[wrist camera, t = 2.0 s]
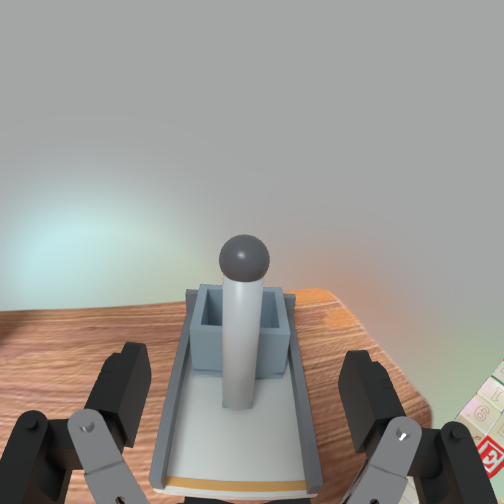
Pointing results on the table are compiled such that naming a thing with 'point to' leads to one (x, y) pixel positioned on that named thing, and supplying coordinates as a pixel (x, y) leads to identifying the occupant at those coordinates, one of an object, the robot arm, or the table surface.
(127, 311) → the table surface
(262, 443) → the crate bay
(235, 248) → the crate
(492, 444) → the stack of blocks
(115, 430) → the robot arm
